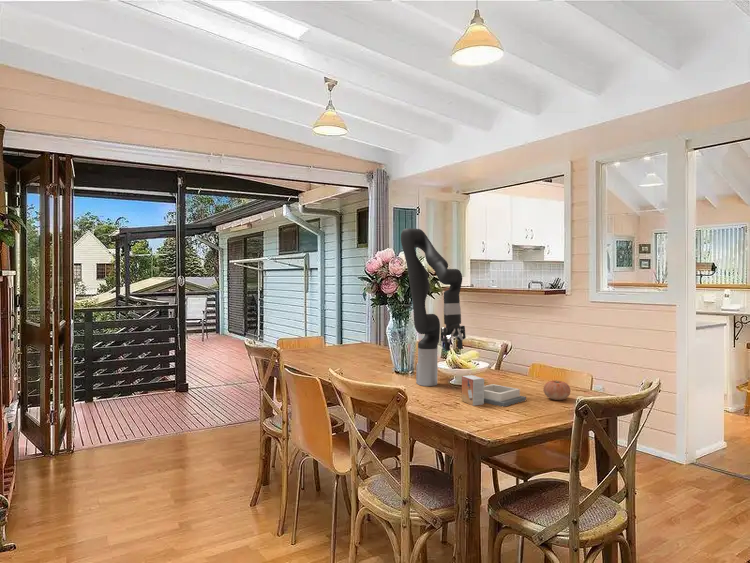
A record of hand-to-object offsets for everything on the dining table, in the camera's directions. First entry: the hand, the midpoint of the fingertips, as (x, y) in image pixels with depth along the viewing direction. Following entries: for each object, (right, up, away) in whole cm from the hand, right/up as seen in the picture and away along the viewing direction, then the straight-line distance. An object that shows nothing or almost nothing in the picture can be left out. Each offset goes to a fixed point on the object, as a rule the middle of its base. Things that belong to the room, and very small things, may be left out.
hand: (453, 350), depth 232 cm
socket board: (+16, -19, -15) cm, 28 cm away
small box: (+5, -19, -20) cm, 28 cm away
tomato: (+41, -19, -13) cm, 47 cm away
